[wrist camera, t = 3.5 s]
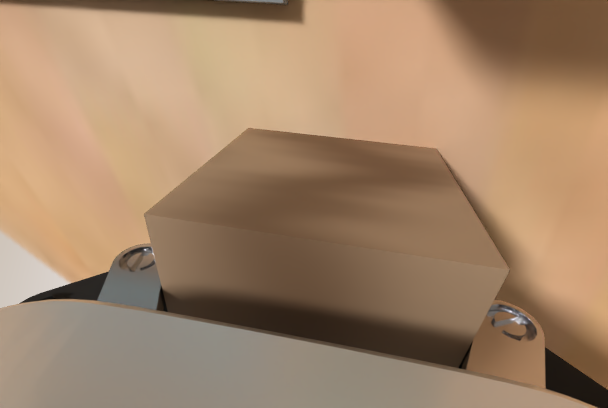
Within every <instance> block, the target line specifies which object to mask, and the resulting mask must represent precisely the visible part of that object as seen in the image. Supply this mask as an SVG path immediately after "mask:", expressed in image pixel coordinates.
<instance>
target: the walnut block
mask: <svg viewBox="0 0 608 408" xmlns="http://www.w3.org/2000/svg"><path fill="white" fill-rule="evenodd" d="M144 217H145V221H146V225H147V229H148V233H149V237H150V241H151V245H152V249H153V253H154V257H155V261H156V265H157V269H158V274H159V278H160V282H161V286H162V290H163V294H164V298H165V302H166V306H167V310H168V312H170V313H176V314H181V315H186V316H192V317H197V318H202V319H208V320H213V321H219V322H224V323H229V324H235V325H240V326H246V327H251V328H256V329H261V330H267V331H272V332H277V333H282V334H288V335H293V336H298V337H303V338H308V339H314V340H319V341H324V342H329V343H334V344H340V345H345V346H350V347H355V348H360V349H365V350H370V351H375V352H380V353H385V354H391V355H396V356H401V357H406V358H411V359H416V360H421V361H426V362H431V363H436V364H441V365H446V366H450V367H455V368H458V367H459V365H460V364H461V362H462V360H463V358H464V356H465V354H466V352H467V350H468V348H469V347H470V345H471V343H472V341H473V339H474V337H475V335H476V333H477V331H478V330H479V328H480V326H481V324H482V322H483V320H484V318H485V316H486V314H487V313H488V311H489V309H490V307H491V305H492V303H493V301H494V299H495V297H496V296H497V294H498V292H499V290H500V288H501V286H502V284H503V282H504V280H505V279H506V277H507V275H508V273H509V271H510V269H509V267H508V266H507V264H506V262H505V261H504V259H503V258H502V256H501V254H500V253H499V251H498V249H497V248H496V246H495V244H494V243H493V241H492V239H491V238H490V236H489V235H488V233H487V231H486V230H485V228H484V226H483V225H482V223H481V221H480V220H479V218H478V216H477V215H476V213H475V212H474V210H473V208H472V207H471V205H470V203H469V202H468V200H467V198H466V197H465V195H464V193H463V192H462V190H461V189H460V187H459V185H458V184H457V182H456V180H455V179H454V177H453V175H452V174H451V172H450V170H449V169H448V167H447V166H446V164H445V162H444V161H443V159H442V157H441V156H440V154H439V152H438V151H437V149H435V148H426V147H417V146H407V145H398V144H389V143H380V142H371V141H362V140H353V139H344V138H335V137H326V136H317V135H307V134H298V133H289V132H280V131H271V130H262V129H253V128H248V129H247V130H246V131H244V132H243V133H242V134H241V135H239V136H238V137H237V138H236V139H235V140H233V141H232V142H231V143H230V144H229V145H227V146H226V147H225V148H224V149H222V150H221V151H220V152H219V153H218V154H216V155H215V156H214V157H213V158H211V159H210V160H209V161H208V162H207V163H205V164H204V165H203V166H202V167H201V168H199V169H198V170H197V171H196V172H194V173H193V174H192V175H191V176H190V177H188V178H187V179H186V180H185V181H184V182H182V183H181V184H180V185H179V186H177V187H176V188H175V189H174V190H173V191H171V192H170V193H169V194H168V195H167V196H165V197H164V198H163V199H162V200H160V201H159V202H158V203H157V204H156V205H154V206H153V207H152V208H151V209H149V210H148V211H147V212H146V213H145V214H144Z"/></svg>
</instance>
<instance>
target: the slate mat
mask: <svg viewBox="0 0 608 408" xmlns="http://www.w3.org/2000/svg"><path fill="white" fill-rule="evenodd" d="M216 1H233V2H251V3H268V4H286V5H288V0H216Z"/></svg>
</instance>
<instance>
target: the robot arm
mask: <svg viewBox="0 0 608 408" xmlns="http://www.w3.org/2000/svg"><path fill="white" fill-rule="evenodd" d="M0 408H608V390H607V389H605V388H604V387H602V386H601V385H599V384H598V383H597V382H595V381H594V380H592V379H591V378H589V377H588V376H586V375H585V374H583V373H582V372H580V371H579V370H578V369H576V368H575V367H573V366H572V365H570V364H569V363H567V362H566V361H564V360H563V359H561V358H560V357H558V356H557V355H556V354H554V353H553V352H551V351H550V350H548V349H547V348H545V336H544V332H543V329H542V328H541V326H540V324H539V323H538V322H537V321H536V320H535V319H534V318H533V317H532V316H531V315H530V314H529V313H527V312H526V311H525V310H523V309H522V308H520V307H518V306H516V305H514V304H511V303H508V302H505V301H500V300H496V299H494V301H493V303H492V305H491V307H490V309H489V311H488V313H487V314H486V316H485V318H484V320H483V322H482V324H481V326H480V328H479V330H478V331H477V333H476V335H475V337H474V339H473V341H472V343H471V345H470V347H469V348H468V350H467V352H466V354H465V356H464V358H463V360H462V362H461V364H460V365H459V367H458V368H455V367H450V366H446V365H441V364H436V363H431V362H426V361H421V360H416V359H411V358H406V357H401V356H396V355H391V354H385V353H380V352H375V351H370V350H365V349H360V348H355V347H350V346H345V345H340V344H334V343H329V342H324V341H319V340H314V339H308V338H303V337H298V336H293V335H288V334H282V333H277V332H272V331H267V330H261V329H256V328H251V327H246V326H240V325H235V324H229V323H224V322H219V321H213V320H208V319H202V318H197V317H192V316H186V315H181V314H176V313H170V312H168V310H167V306H166V302H165V298H164V294H163V290H162V286H161V282H160V278H159V274H158V269H157V265H156V261H155V257H154V253H153V249H152V245H151V244H140V245H136V246H133V247H130V248H128V249H126V250H124V251H122V252H121V253H120V254H119V255H118V256H116V258H115V259H114V261H113V263H112V266H111V268H110V270H109V272H106V273H103V274H100V275H96V276H93V277H90V278H87V279H84V280H81V281H77V282H74V283H71V284H68V285H65V286H62V287H59V288H55V289H52V290H49V291H46V292H43V293H40V294H37V295H35V296H32V297H30V298H28V299H26V300H24V301H23V302H21V303H19V304H16V305H12V306H7V307H4V308H0Z"/></svg>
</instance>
